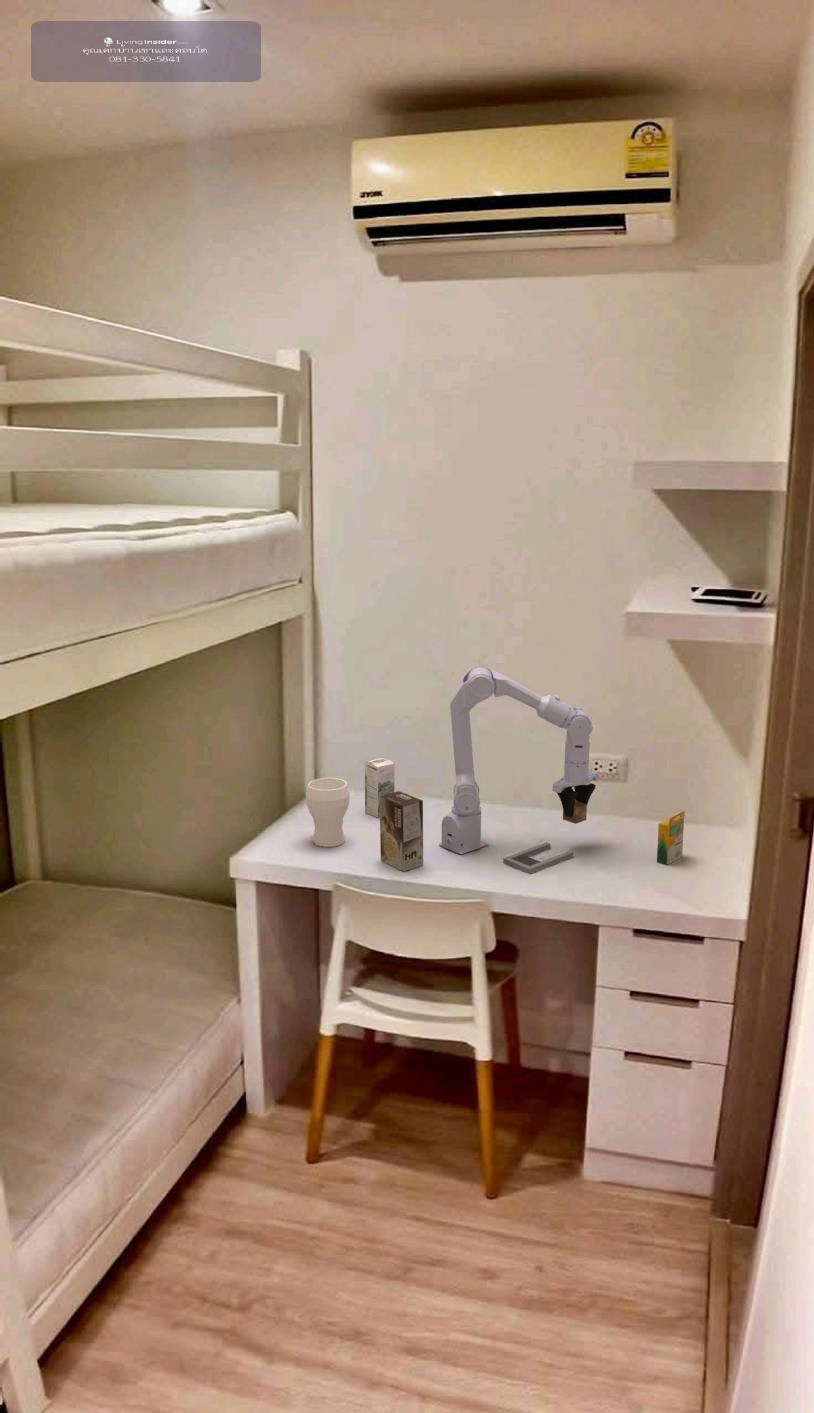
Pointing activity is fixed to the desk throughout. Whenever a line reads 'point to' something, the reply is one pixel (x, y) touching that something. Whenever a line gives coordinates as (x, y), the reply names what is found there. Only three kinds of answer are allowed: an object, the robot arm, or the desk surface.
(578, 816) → the walnut block
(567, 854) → the guide channel
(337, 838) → the cup
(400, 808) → the coffee box
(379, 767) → the syrup box
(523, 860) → the pad
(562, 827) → the desk surface
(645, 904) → the desk surface
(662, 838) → the crayon box
